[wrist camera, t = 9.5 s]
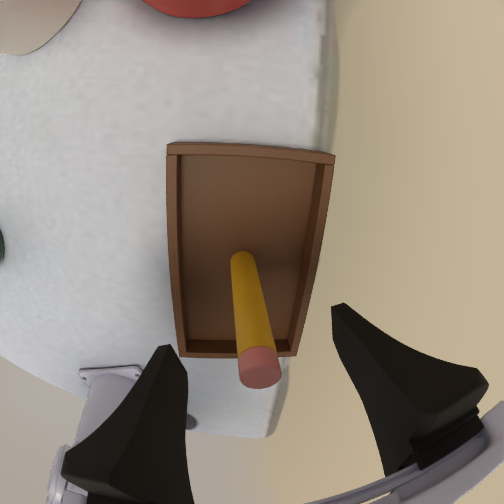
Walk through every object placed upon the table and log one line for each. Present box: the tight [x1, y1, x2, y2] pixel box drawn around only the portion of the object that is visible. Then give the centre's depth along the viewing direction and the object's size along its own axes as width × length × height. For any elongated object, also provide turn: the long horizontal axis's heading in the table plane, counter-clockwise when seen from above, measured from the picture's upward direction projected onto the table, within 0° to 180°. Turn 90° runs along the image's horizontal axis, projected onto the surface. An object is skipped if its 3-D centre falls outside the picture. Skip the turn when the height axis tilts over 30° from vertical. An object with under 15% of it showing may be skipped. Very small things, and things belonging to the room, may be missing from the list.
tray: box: [166, 142, 335, 358], centre depth 18 cm, size 15×9×2 cm, turn 176°
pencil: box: [230, 251, 282, 389], centre depth 14 cm, size 2×2×10 cm
